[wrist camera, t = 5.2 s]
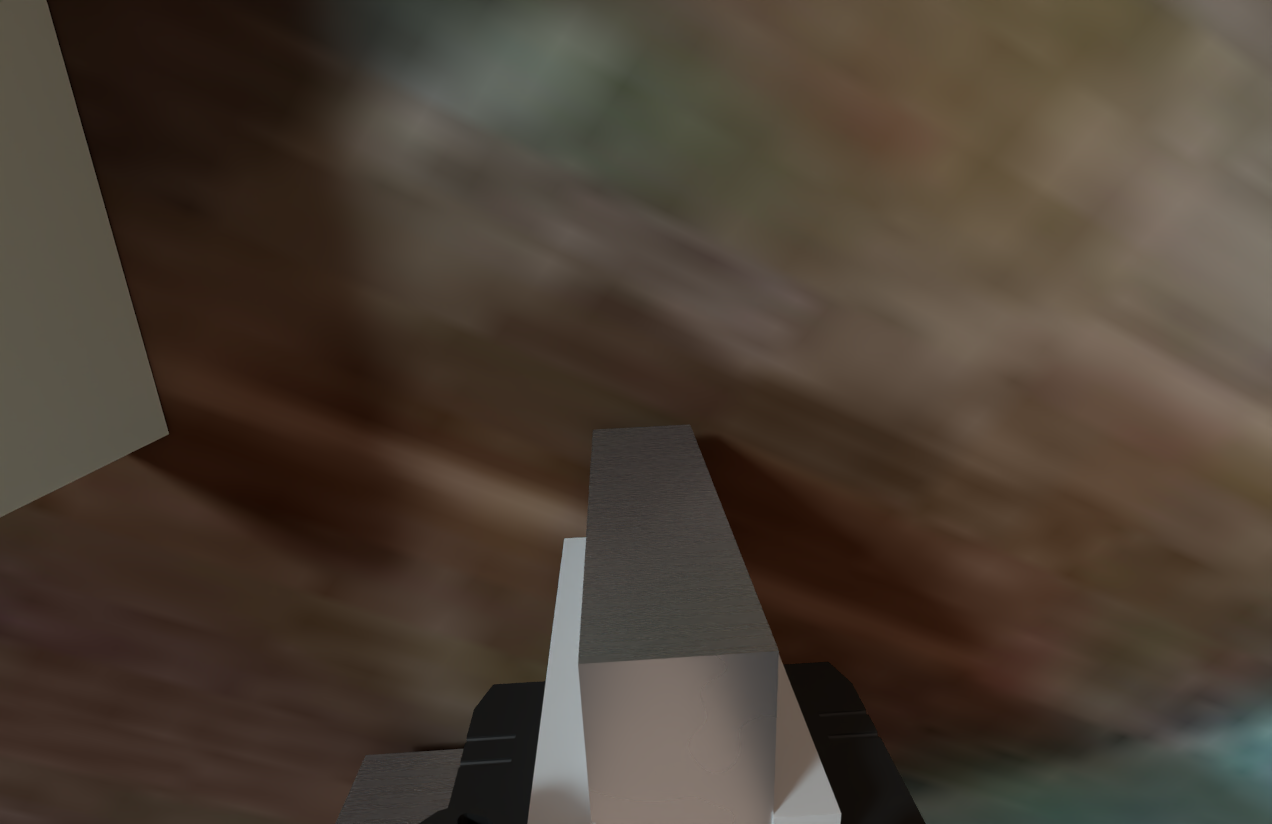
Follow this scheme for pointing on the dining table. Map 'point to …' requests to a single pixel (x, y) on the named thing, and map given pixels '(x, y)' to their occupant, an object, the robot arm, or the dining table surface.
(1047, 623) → the dining table surface
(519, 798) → the robot arm
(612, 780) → the bracket
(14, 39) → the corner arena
